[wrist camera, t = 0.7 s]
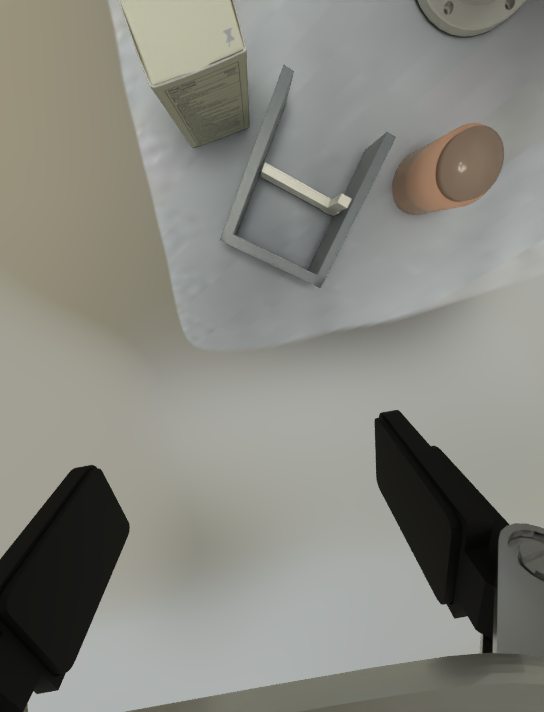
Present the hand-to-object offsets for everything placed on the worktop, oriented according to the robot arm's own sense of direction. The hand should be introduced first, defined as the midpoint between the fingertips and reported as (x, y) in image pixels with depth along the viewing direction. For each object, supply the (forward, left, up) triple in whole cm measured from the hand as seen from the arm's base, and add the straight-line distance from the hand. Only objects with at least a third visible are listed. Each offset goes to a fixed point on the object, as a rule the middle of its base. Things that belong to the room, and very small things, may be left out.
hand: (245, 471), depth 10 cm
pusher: (-13, 0, -26) cm, 29 cm away
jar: (-20, +11, -26) cm, 35 cm away
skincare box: (-16, -11, -27) cm, 33 cm away
